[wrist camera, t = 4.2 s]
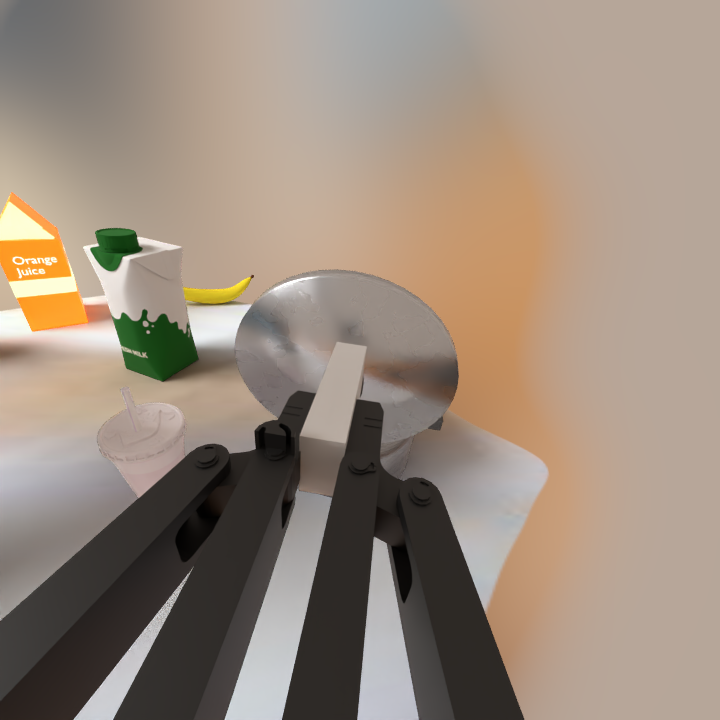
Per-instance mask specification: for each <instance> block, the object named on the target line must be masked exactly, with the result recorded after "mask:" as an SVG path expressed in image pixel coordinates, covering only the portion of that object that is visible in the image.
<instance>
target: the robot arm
mask: <svg viewBox="0 0 720 720" xmlns="http://www.w3.org/2000/svg"><path fill="white" fill-rule="evenodd" d="M366 349H367V346H361V345H354V344H348V343H341V342H337V343H336V345H335V348H334V350H333V353H332V355H331V358H330V360H329V363H328V365H327V368H326V370H325V373H324V375H323V378H322V380H321V383H320V385H319V388H318V390H317V393H311V392H305V391H299V390H298V391H296V392H295V393H294V394H293V395H291V396H290V397H289V399H288V401H287V403H286V405H285V407H284V409H283V410H282V413H281V414H280V416H279V418H278V420H272V421H268V422H265V423H263V424H261V425H259V426H258V427H257V429H256V430H255V443H256V449H255V450H252V451H249V452H243V453H232V454H229V452H228V450H227V449H226V448H225V447H223V446H222V445H218V444H206V445H203V446H200V447H198V448H196V449H195V450H193V451H192V452H190V453H189V454H188V455H187V456H186V457H185V458H183V459H182V460H181V461H180V462H179V463H178V464H177V465H176V466H174V467H173V468H172V469H171V470H170V471H169V472H168V473H167V474H165V475H164V476H163V477H162V478H161V479H160V480H159V481H158V482H156V483H155V484H154V485H153V486H152V487H151V488H150V489H149V490H147V491H146V492H145V493H144V494H143V495H142V496H141V497H140V498H138V499H137V500H136V501H135V502H134V503H133V504H132V505H131V506H129V507H128V508H127V509H126V510H125V511H124V512H123V513H122V514H120V515H119V516H118V517H117V518H116V519H115V520H114V521H112V522H111V523H110V524H109V525H108V526H107V527H106V528H105V529H103V530H102V531H101V532H100V533H99V534H98V535H97V536H96V537H94V538H93V539H92V540H91V541H90V542H89V543H88V544H87V545H85V546H84V547H83V548H82V549H81V550H80V551H79V552H78V553H76V554H75V555H74V556H73V557H72V558H71V559H70V560H69V561H67V562H66V563H65V564H64V565H63V566H62V567H61V568H60V569H58V570H57V571H56V572H55V573H54V574H53V575H52V576H51V577H49V578H48V579H47V580H46V581H45V582H44V583H43V584H42V585H40V586H39V587H38V588H37V589H36V590H35V591H34V592H33V593H31V594H30V595H29V596H28V597H27V598H26V599H25V600H24V601H22V602H21V603H20V604H19V605H18V606H17V607H16V608H15V609H13V610H12V611H11V612H10V613H9V614H8V615H7V616H5V617H4V618H3V619H2V620H1V621H0V720H73V719H74V718H75V717H76V716H77V714H78V713H79V712H80V710H81V709H82V708H83V707H84V705H85V704H86V703H87V702H88V700H89V699H90V698H91V696H92V695H93V694H94V693H95V691H96V690H97V689H98V688H99V686H100V685H101V684H102V683H103V681H104V680H105V679H106V677H107V676H108V675H109V674H110V672H111V671H112V670H113V669H114V667H115V666H116V665H117V663H118V662H119V661H120V660H121V658H122V657H123V656H124V655H125V653H126V652H127V651H128V649H129V648H130V647H131V646H132V644H133V643H134V642H135V641H136V639H137V638H138V637H139V635H140V634H141V633H142V632H143V630H144V629H145V628H146V627H147V625H148V624H149V623H150V622H151V620H152V619H153V618H154V616H155V615H156V614H157V613H158V611H159V610H160V609H161V608H162V606H163V605H164V604H165V602H166V601H167V600H168V599H169V597H170V596H171V595H172V594H173V592H174V591H175V590H176V588H177V587H178V586H179V585H180V583H181V582H182V581H183V580H184V578H185V577H186V576H187V574H188V573H189V572H190V571H191V569H192V568H193V569H192V571H191V573H190V575H189V577H188V579H187V581H186V583H185V585H184V586H183V588H182V590H181V592H180V594H179V596H178V598H177V600H176V602H175V603H174V605H173V607H172V609H171V611H170V613H169V615H168V617H167V619H166V621H165V622H164V624H163V626H162V628H161V630H160V632H159V634H158V636H157V638H156V639H155V641H154V643H153V645H152V647H151V649H150V651H149V653H148V655H147V657H146V658H145V660H144V662H143V664H142V666H141V668H140V670H139V672H138V674H137V675H136V677H135V679H134V681H133V683H132V685H131V687H130V689H129V691H128V693H127V694H126V696H125V698H124V700H123V702H122V704H121V706H120V708H119V710H118V711H117V713H116V715H115V717H114V719H113V720H224V719H225V716H226V713H227V710H228V707H229V704H230V701H231V698H232V695H233V692H234V689H235V686H236V683H237V680H238V677H239V673H240V670H241V667H242V664H243V661H244V658H245V655H246V652H247V649H248V646H249V643H250V640H251V637H252V634H253V631H254V628H255V624H256V621H257V618H258V615H259V612H260V609H261V606H262V603H263V600H264V597H265V594H266V591H267V588H268V585H269V582H270V579H271V576H272V572H273V569H274V566H275V563H276V560H277V557H278V554H279V551H280V548H281V545H282V542H283V539H284V536H285V533H286V530H287V527H288V524H289V520H290V517H291V514H292V511H293V508H294V505H295V493H296V490H297V487H298V484H299V491H304V492H310V493H316V494H322V495H327V496H333V497H332V501H331V506H330V510H329V514H328V519H327V523H326V528H325V532H324V537H323V541H322V545H321V550H320V554H319V559H318V563H317V567H316V572H315V576H314V581H313V585H312V589H311V594H310V598H309V603H308V607H307V612H306V616H305V620H304V625H303V629H302V634H301V638H300V642H299V647H298V651H297V656H296V660H295V664H294V669H293V673H292V678H291V682H290V686H289V691H288V695H287V700H286V704H285V709H284V713H283V717H282V720H357V715H358V704H359V693H360V682H361V671H362V660H363V649H364V638H365V627H366V616H367V605H368V594H369V583H370V572H371V561H372V550H373V539H374V536H375V537H376V538H378V539H380V540H382V541H384V542H385V543H387V547H388V553H389V558H390V564H391V569H392V575H393V580H394V586H395V591H396V596H397V602H398V607H399V613H400V618H401V624H402V629H403V635H404V640H405V646H406V651H407V656H408V662H409V667H410V673H411V678H412V684H413V689H414V695H415V700H416V706H417V711H418V716H419V720H524V718H523V715H522V712H521V710H520V707H519V704H518V702H517V699H516V696H515V693H514V691H513V688H512V685H511V682H510V680H509V677H508V674H507V672H506V669H505V666H504V664H503V661H502V658H501V655H500V653H499V650H498V647H497V644H496V642H495V639H494V637H493V634H492V631H491V628H490V625H489V623H488V620H487V617H486V615H485V612H484V609H483V607H482V604H481V601H480V598H479V596H478V593H477V590H476V588H475V585H474V582H473V580H472V577H471V574H470V571H469V569H468V566H467V563H466V561H465V558H464V555H463V552H462V550H461V547H460V544H459V542H458V539H457V536H456V534H455V531H454V528H453V525H452V523H451V520H450V517H449V515H448V512H447V509H446V506H445V504H444V501H443V498H442V496H441V493H440V492H439V490H438V488H437V487H436V486H435V485H434V484H432V483H431V482H430V481H428V480H425V479H423V478H417V477H414V478H409V479H407V480H405V481H402V480H400V479H397V478H395V477H394V476H392V475H390V474H389V473H388V472H387V471H386V470H385V469H384V468H383V466H382V464H381V462H380V450H381V439H382V428H383V417H384V410H383V408H382V406H381V404H380V403H379V402H373V401H366V400H360V399H359V398H360V393H361V387H362V379H363V372H364V364H365V357H366Z"/></svg>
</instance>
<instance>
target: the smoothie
mask: <svg viewBox="0 0 720 720" xmlns="http://www.w3.org/2000/svg"><path fill="white" fill-rule="evenodd" d="M120 390H121V393H122V396H123V399H124V402H125V405H126V408H127V409H125V410H123V411H121V412H119V413H117V414H116V415H114V416H113V417H111V418H110V419H109V420H108V421H106V422H105V423H104V425H103V426H102V427H101V429H100V430H99V432H98V435H97V443H98V445H99V449H100V452H101V453H102V455H103V456H104V457H105V458H107V459H108V460H110V461H113V463H114V464H115V466H116V467H117V468H118V470H119V471H120V473H121V474H122V476H123V477H124V479H125V480H126V481H127V483H128V484H129V486H130V487H131V489H132V490H133V492H134V493H135V494H136V496H137V497H138V498H140V497H141V496H142V495H143V494H144V493H145V492H146V491H147V490H149V489H150V488H151V487H152V486H153V485H154V484H155V483H156V482H158V481H159V480H160V479H161V478H162V477H163V476H164V475H165V474H167V473H168V472H169V471H170V470H171V469H172V468H173V467H174V466H176V465H177V464H178V463H179V462H180V461H181V460H182V459H183V458H185V454H184V435H185V433H186V429H187V423H186V420H185V417H184V414H183V412H182V411H181V410H180V409H179V408H178V407H176V406H174V405H171V404H167V403H158V402H156V403H145V404H140V405H136V406H135V405H134V401H133V398H132V395H131V392H130V389H129V387H123V388H121V389H120Z"/></svg>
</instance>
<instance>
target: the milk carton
mask: <svg viewBox="0 0 720 720" xmlns="http://www.w3.org/2000/svg"><path fill="white" fill-rule="evenodd" d="M95 234H96V238H97V241H98V244H94V245H89V246H84V247H83V248H84V250H85V252H86V254H87V256H88V258H89V260H90V262H91V264H92V266H93V268H94V270H95V272H96V273H97V275H98V277H99V279H100V281H101V284H102V286H103V290H104V293H105V296H106V299H107V302H108V305H109V309H110V312H111V315H112V318H113V321H114V325H115V328H116V331H117V334H118V337H119V341H120V344H121V349H122V353H123V357H124V361H125V366H126V368H127V369H130V370H132V371H135V372H138V373H141V374H143V375H146V376H149V377H152V378H154V379H157V380H160V381H164V380H166V379H168V378H169V377H171V376H172V375H174V374H176V373H177V372H179V371H180V370H182V369H184V368H185V367H187V366H188V365H190V364H192V363H193V362H195V361H196V360H198V359H199V358H198V355H197V351H196V348H195V344H194V340H193V337H192V333H191V329H190V324H189V318H188V313H187V307H186V302H185V296H184V290H183V285H182V279H181V267H182V251H183V247H180V246H176V245H172V244H167V243H163V242H159V241H155V240H151V239H146V238H142V237H137V235H136V232H135V231H134V230H130V229H122V228H108V229H101V230H97V231H96V232H95Z"/></svg>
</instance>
